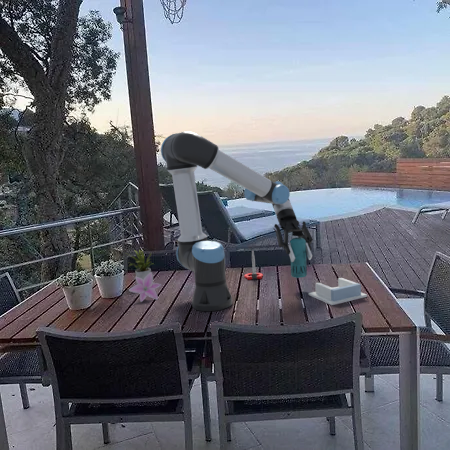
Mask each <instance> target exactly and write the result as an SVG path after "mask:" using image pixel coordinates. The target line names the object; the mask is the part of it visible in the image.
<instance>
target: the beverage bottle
mask: <svg viewBox="0 0 450 450" xmlns="http://www.w3.org/2000/svg"><path fill="white" fill-rule="evenodd" d="M291 233H292V234H291V235H292V236H294V237H293V238H292V239H291V240H290V241H289V244H290V245H291V248H292V251H293V253H294V256H295V260H294V262H291V261H290V264H289V265H290V266H289V267H290V268H289V269H290V276H291V277H292V278H295V279H296V278H297V279H298V278H300V279H301V278H305V277H307V274H308V266H307V259H308V257H307V254H306V241H305V240H304V239H303V238H299V237H298V236H302V235H303V234H304V233H303V231H302V229H300V230H293V232H291Z"/></svg>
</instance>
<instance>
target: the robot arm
mask: <svg viewBox="0 0 450 450" xmlns="http://www.w3.org/2000/svg"><path fill="white" fill-rule="evenodd" d="M160 154H161V157H162V159H163V160H164V161H165V163H166V170H167V172H168V173H169V174H170V175H171V176H172V183H173V190H174V197H175V204H176V211H177V218H178V224H179V231H180V236H178V239H177V242H178V243H177V244H178V246H177V249H176V260H177V261H178V263H179V264H180V265H181V266H182V267H183V268H184V269H187V270H189V271H191V272H193V275H194V283H195V284H194V291H193V294H192V299H191V305H192V308H193V310H196V311H200V312H216V311H221V310H226V309H228V308H230V307H231V306H232V305H233V296H232V294H231V291H230V289H229V286H228V285H227V276H226V275H227V274H226V262H225V261H226V260H225V257H226V256H225V249H224V246H223V245H222V243H220V242H218V241H211V240H208V236H207V234H206V233H204V232H203V227H202V226H203V225H202V221H201V220H202V219H201V213H200V212H201V211H200V207H199V205H200V204H199V198H198V189H197V183H196V176H195V171H196V170H197V168H198V167H200V168H202V169H204V170H208V169H210V170H211V171H212V172H215V173H216V174H219V175H221V176H223V177H224V178H226V179H228V180H230V181H231V182H233V183H235V184H237V185H238V186H240V187H243V188H244V191H243V192H244V198H245V199H246V200H247V201H251V202H257V203H264V204H265V203H266V204H271V205H272V207H273V210H274V213H275V216H276V219H277V221H278V224H277V223H274V225H273V231H274V232H275V235H276V239H277V243H278V247H279V248H283V250H285V253H286V255H288V256H289V259H290V263H291V262H294V260H295V256H294V253H293V251H292V248H291V245H290V243H289V234H290V233H292V232H293V230H302V231H303V235H302V236H297V238H303V239H304V240H305V241H306V257H307V259H308V261H311V259H312V258H313V254H312V246H311V245H312V243H313V241H314V240H313V239H314V238H313V237H312V235H311V233H310V231H309V229H308V227H307V225H306V221H304V220H303V221H302V222H300V221H299V220H298V218H297V215H296V212H295V210H294V208H293V205H292V202H291V201H290V193H291V192H290V189H289V188H288V186H287V185H285V184H283V182H281V181H273V180H270V178H267V177H265V176H264V175H262V174H261V173H259V172H257V171H256V170H254V169H252V168H250V167H249V166H248V165H246V164H244V163H243V162H241V161H238V160H237V159H236V158H233V157H232V156H230V155H228V154H227V153H225V152H224V151H221V150H220V149H219V146H218V145H217V144H215V143H213V142H212V141H210V140H209V139H207V138H205V137H204V136H202V135H200V134H198V133H196V132H194V131H187V130H185V131H181V132H177V133H172V134H170V135H169V136H167V137H166V138H165V139H164V140H163V142H162V144H161V147H160ZM281 229H282V231H283V236H282V232H281Z"/></svg>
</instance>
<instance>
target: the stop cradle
mask: <svg viewBox="0 0 450 450" xmlns="http://www.w3.org/2000/svg"><path fill="white" fill-rule="evenodd" d="M337 282H338V283H337V285H338V286H334V287H331V286H329V285H327V284H324V283H321V282H315V291H312V292H308V296H309V297H312V298H314V299H317V300H318V301H321V302H323V303H325V304H328V305H330V306H334V305H339V304H342V303H347V302H350V301H353V300H354V301H355V300H359V299H363V298H366V297H368V294H367V293H364V292H362V285H361V283H358V282H355V281H352V280H350V279H346V278H343V277H339V278H337Z"/></svg>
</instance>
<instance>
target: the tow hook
mask: <svg viewBox="0 0 450 450" xmlns="http://www.w3.org/2000/svg"><path fill="white" fill-rule="evenodd" d="M255 258H256V257H255V252H254V250H251V263H252V268H251V272H250V273H246V274H244V278H245V279H246V280H247V281H250V280H261V279H263V276H264V274H263V273H261V272H257V268H256V259H255ZM249 275H250V276H249Z"/></svg>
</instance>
